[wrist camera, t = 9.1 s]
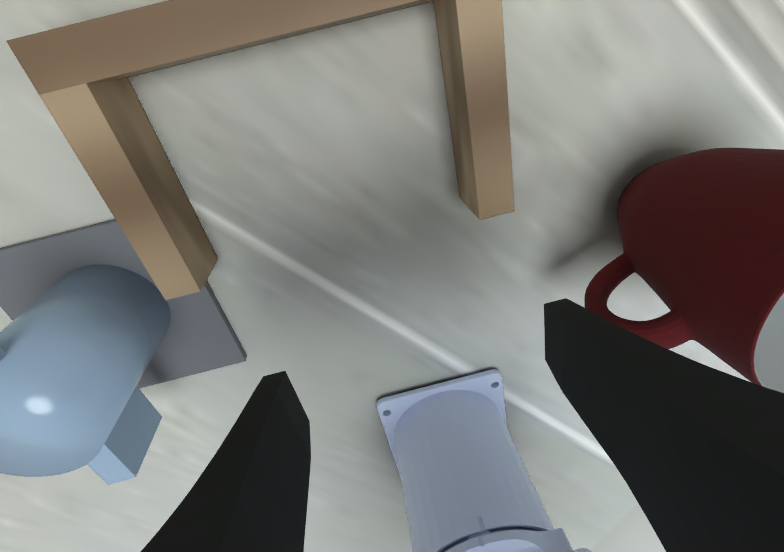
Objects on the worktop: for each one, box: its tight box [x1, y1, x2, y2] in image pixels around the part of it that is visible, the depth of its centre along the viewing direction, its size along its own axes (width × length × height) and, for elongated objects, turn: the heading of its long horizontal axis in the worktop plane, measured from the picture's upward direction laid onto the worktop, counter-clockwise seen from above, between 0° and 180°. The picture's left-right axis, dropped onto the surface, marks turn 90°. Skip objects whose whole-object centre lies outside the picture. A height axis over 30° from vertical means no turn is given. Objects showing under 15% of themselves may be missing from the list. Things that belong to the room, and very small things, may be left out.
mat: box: [0, 219, 247, 388], centre depth 20 cm, size 9×9×1 cm
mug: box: [585, 148, 784, 393], centre depth 17 cm, size 10×8×10 cm
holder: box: [7, 0, 514, 300], centre depth 16 cm, size 10×15×3 cm, turn 102°
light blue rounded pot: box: [0, 265, 171, 485], centre depth 17 cm, size 8×5×7 cm, turn 14°
